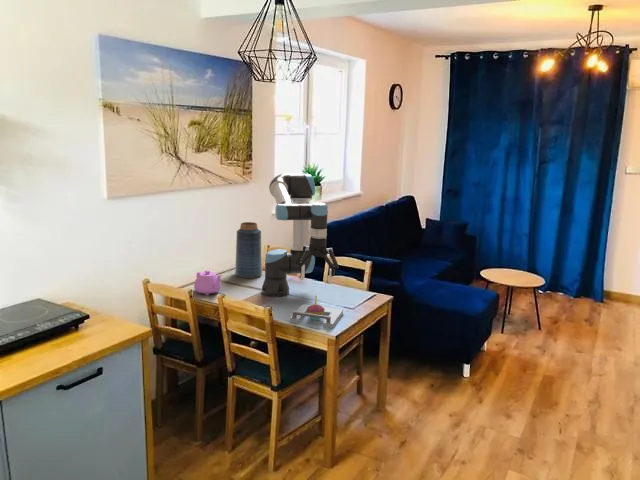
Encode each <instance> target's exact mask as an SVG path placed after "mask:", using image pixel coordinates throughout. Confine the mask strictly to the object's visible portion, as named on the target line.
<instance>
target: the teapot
mask: <svg viewBox="0 0 640 480" xmlns="http://www.w3.org/2000/svg"><path fill="white" fill-rule="evenodd" d="M195 276H196V279H195V280H194V284H193V288H194V290H195V291H196V292H197V293H198V294H204V296H210V294H217V293H218V292H219V291H220V290H221V287H222V283H221V277H222V276H223V275H222V274H220V275H217V274H216V273H215V272H214V271H211V270H209V269H207V270H204V271H203V272H201V271H199V272H196V275H195Z"/></svg>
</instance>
